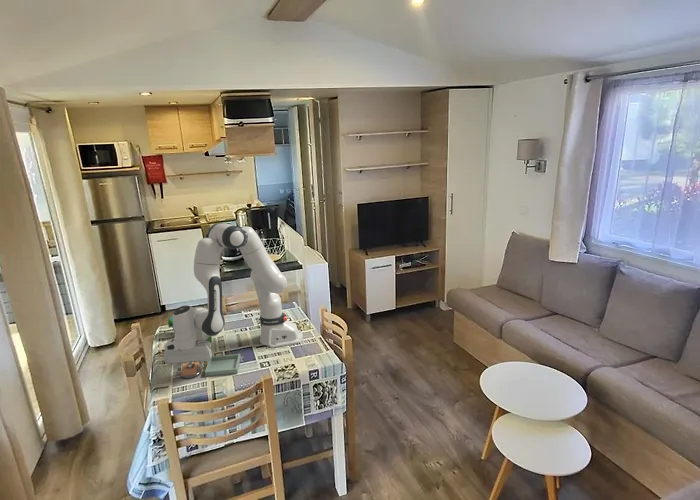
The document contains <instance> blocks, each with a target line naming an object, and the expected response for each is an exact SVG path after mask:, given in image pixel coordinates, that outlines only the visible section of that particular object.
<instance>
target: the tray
mask: <svg viewBox="0 0 700 500" xmlns="http://www.w3.org/2000/svg"><path fill="white" fill-rule="evenodd" d="M241 359H242V358H241V353H236V354H224V355H223V354H221V355H212V357H211V359H210V360H208V362H207V365H206V367H205V370H204V377H205V378H208V377H219V376H229V375H237V374H238V372H239V368H240V362H241Z"/></svg>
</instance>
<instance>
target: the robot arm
mask: <svg viewBox="0 0 700 500" xmlns="http://www.w3.org/2000/svg"><path fill="white" fill-rule="evenodd" d="M224 249H229V250H236V249H239V251H240V253H241V254H242V256H243V259H244V260H245V262H246V263H247V266H248V267H249V268H250V269H251V271H250V280H251V281H252V283H253V286H254V288H255V292H256V295H257V298H258V303H259V313H260V314H259V324H260V337H259V342H260V343H261V345H264V346H267V347H269V348H271V349H274V348H280V347H285V346H290V345H296V344H300V343H301V342H302V341H303V340H304V336H303V332H302V331H301V330H299V328H298V326H297V324H296V323H294V322H293V321H291V320H289V319H288V317H287V313H286V312H283V307H282V299H281V296H280V295H279V294H282V293H283V292H285V291H286V289H287V286H288V280H287V277H286V276H285V275H284V274H283V273H282V271H280V269H279V267H278V266H277V265H276V263H275V262H274V260H273V259H272V258H271V257H270V255H269V253H268V251H267V249H266V247H265V246H264V244H263V242H262V240H261V238H260V236H259V235H258V233H257V232H256V231H255V230H254V229H253V227H251V226H246V225H245V226H242V227H240V226H237V225H234V224H231V223H223V222H216V223H214V224H213V225H211V226H210V228H209V229H208V231H207V234H206V235H205V237H204V238H202V239H199V241H198V242H197V246H196V249H195V254H194V259H193V275H194V277H195V279H197V281H198V282H199V283H200V284H201V285H202V287H203V288H204V289H205V291H206V294H207V308H206V307H202V306H200V307H193V306H190V305H181V306H179V307H177V308H176V309H174V310H173V314H172V316H173V328H174V331H175V333H174V337H173V338H170V339H168V340H167V341H166V343H165V345H164V351H163V362H164V363H165V364H166V365H168V364H173V366H174V367H175V369H176V372H181V370H182V366H181V365H179V364H182V363H189V362H191V363H192V362H199V366H198V368H199V369H201V370H203V367H204V366H203V365H204V363H205V361H206V362H207V361H209V360H210V359H211V357H212V356H213V353H212V343H210V342H209V341H207V340H204V341H197V338H196V331H197V330H201V331H203V332H204V333H205V334H207V335H209V336H211V337H214V336H217V335H218V334H220V333H221V332H222V330H223V329H224V327H225V323H226V321H225V316H224V313H223V284H222V279H221V275H220V274H221V273H220V266H221V264H220V262H221V256H222V255H221V254H222V253H223V251H224ZM173 328H172V329H173ZM174 331H173V332H174Z"/></svg>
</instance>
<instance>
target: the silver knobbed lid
mask: <svg viewBox="0 0 700 500" xmlns="http://www.w3.org/2000/svg"><path fill="white" fill-rule="evenodd" d="M187 363H188V368H193V367H192V362H187ZM179 375H180V377H181V379H183V380H190V379H191V380H192V379H195V378H197V377H200V375H202V369H199V370H198V373H197V375H188V376H182V373H181V372H180V374H179Z"/></svg>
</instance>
